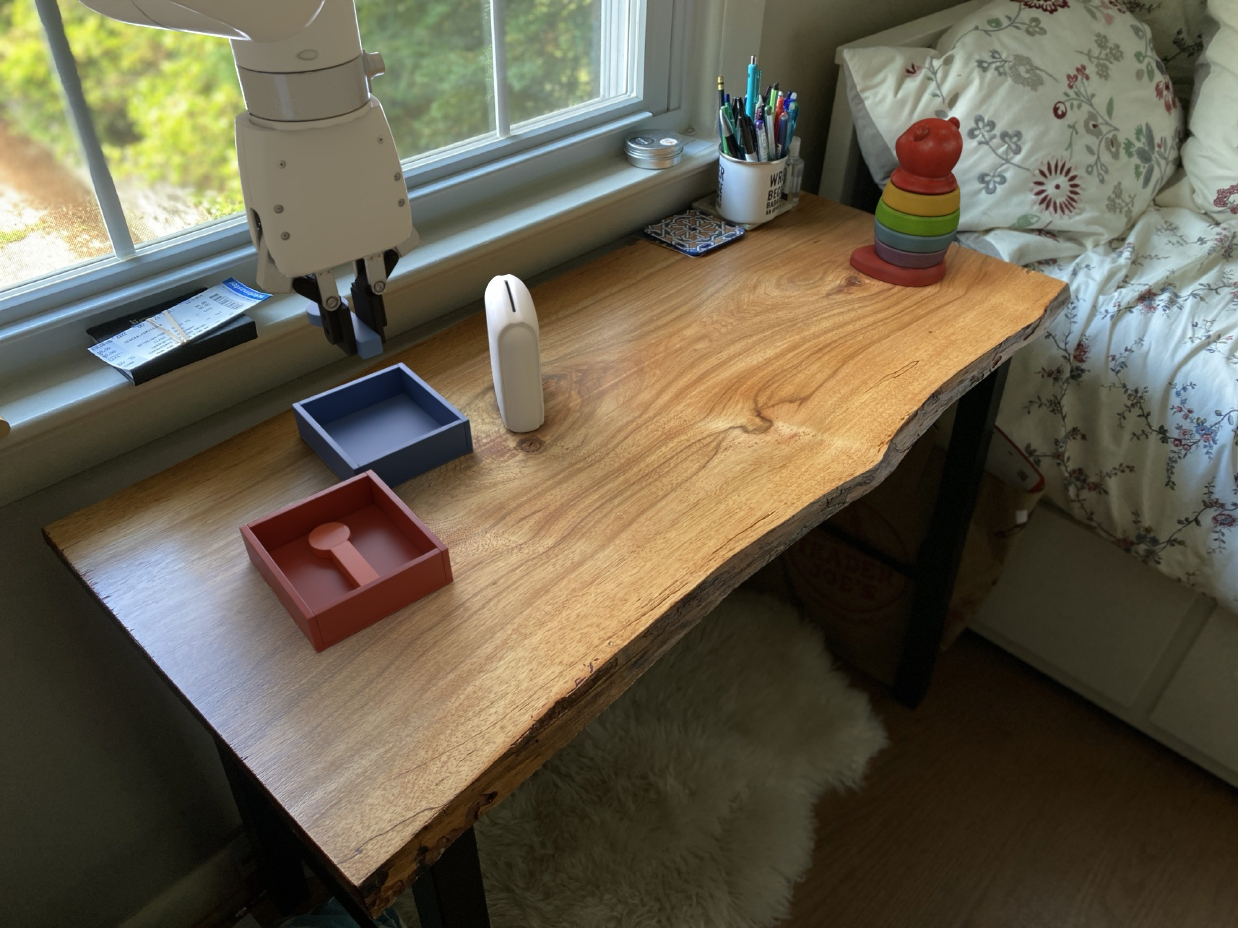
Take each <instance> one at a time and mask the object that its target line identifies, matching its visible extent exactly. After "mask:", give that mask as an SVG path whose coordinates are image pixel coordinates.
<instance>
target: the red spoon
mask: <svg viewBox="0 0 1238 928" xmlns="http://www.w3.org/2000/svg"><path fill="white" fill-rule="evenodd" d="M308 541H309V545H310V548H311V551H312V553H313V554H314V555H315V556H317V557H319V558H323V559H330V558H332V560H333V562H334V563H335V565H336V566H337V567H338V568H339V570H340V571H341V572H342V573H343V574H344V576H345V577H346V578H347V579H348V580H349V582H350V583H351V584H352V585H353V586H354V588H355V589H357V588H359V587H361V586H363V585H365V584H367V583H369V582H371V581H373V580H375V579H377V578H379V577H380V576H379V575H378V574H377V573H376V572H375V571H374V569H373V568H372V567H371V566H370V565H369V564H368V563H367V561H366V560H365V559H364V558H363V557H362V556H361V554H360V553H359V552H358V551H357V550H356V549H355V548H354V546H353V545H352V537H351V533H350V530H349V528H348V527H347V526H346V525H344V524H342V523H337V522H331V523H326V524H323V525H320V526H318V527H317V528H315V529H314V530H313V531H312V532H311V533H310V535H309V538H308Z"/></svg>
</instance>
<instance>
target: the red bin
mask: <svg viewBox="0 0 1238 928" xmlns="http://www.w3.org/2000/svg"><path fill="white" fill-rule="evenodd" d="M331 522H337V523H342V524H344V525H346V526H347V527H348V528H349V530H350V533H351V537H352V545H353V546H354V548H355V549H356V550H357V551H358V552H359V553H360V554H361V556H362V557H363V558H364V559H365V560H366V561H367V563H368V564H369V565H370V566H371V567H372V568H373V569H374V571H375V572H376V573H377V574H378V575H379V576H380V577H379V578H377V579H375V580H373V581H371V582H369V583H367V584H365V585H363V586H361V587H359V588H357V589H355V588H354V586H353V585H352V584H351V583H350V582H349V580H348V579H347V578H346V577H345V576H344V574H343V573H342V572H341V571H340V570H339V568H338V567H337V566H336V565H335V563H334V562H333V560H332V558H330V559H323V558H319V557H317V556H315V555H314V554H313V553H312V551H311V548H310V545H309V541H308V538H309V535H310V533H311V532H312V531H313V530H314V529H315V528H317V527H318V526H320V525H323V524H326V523H331ZM238 529H239V533H240V536H241V538H242V540H243V544H244V546H245V550H246V553H247V555H248V558H249V561H250V562H251V564H252V565H253V566H254V568H255V569H256V570H257V572H258V573H259V575H260V576H261V577H262V579H263V580H264V582H265V583H266V584H267V585H268V587H269V588H270V590H271V591H272V593H273V595H275V597H276V599H278V601H279V602H280V604H281V605H282V606H283V608H284V609H285V611H286V612H287V614H288V615H289V616H290V618H291V619H292V620H293V622H294V623H295V624H296V626H297V627H298V629H299V630H300V631H301V632H302V634H303V635H304V637H305V638H306V640H307V641H308V642H309V644H310V645H311V646H312V648H313V649H314V651H315V652H316V653H317V654H319V653H321V652H323V651H325V650H327V649H329V648H330V647H332V646H334V645H336V644H338V643H339V642H342V641H343V640H345V639H347V638H349V637H351V636H354V634H355V635H356V634H357V633H359V632H360V631H362V630H364V629H366V628H368V627H370V626H372V625H373V624H376V623H377V622H379V621H381V620H383V619H385V618H387V617H389V616H390V615H392V614H395V613H396V612H398V611H400V610H402V609H404V608H405V607H407V606H410V605H411V604H413V603H415V602H417V601H418V600H421V599H422V598H425V597H426V596H428V595H430V594H432V593H434V592H436V591H438V590H440V589H442V588H444V587H445V586H447V585H448V584H451V583H453V582H454V575H453V570H452V569H453V568H452V563H451V557H450V556H451V555H450V551H449V547H448V546H447V545H445V544H444V542H443V541H442V540H441V539H440V538H439V537H438V536H437V535H436V534H435V533H434V532H433V531H432V530H431V529H430V528H429V527H428V526H427V525H426V524H425V523H424V521H422V520H421V519H420V518H419V517H418V515H416V513H414V512H413V511H412V509H411V508H410V507H409V506H408V505H407V504H406V503H405V502H404V501H403V500H402V499H401V498H400V497H399V496H398V495H397V494H396V493H395V492H394V491H393V490H392V488H389V487H388V486H387V485H386V484H385V483H384V482H383V481H382V480H381V479H380V478H379V477H378V476H377V475H376V474H375V473H374V472H373V471H372V470H368V471H366V472H364V473H362V474H359V475H357V476H355V477H353V478H350V479H348V480H346V481H343V482H342V481H341V482H339V483H337V484H335V485H332V486H330V487H328V488H326V489H323V490H321V491H319V492H317V493H314V494H311V495H309V496H307V497H304V498H303V499H300V500H298V501H296V502H294V503H291V504H288V505H286V506H284V507H282V508H280V509H278V510H275V511H272V512H271V513H269V514H266V515H264V516H262V517H260V518H257V519H255V520H253V521H251V522H248V523H246V524H243V525H241V526H239V527H238Z"/></svg>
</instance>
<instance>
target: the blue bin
mask: <svg viewBox="0 0 1238 928" xmlns="http://www.w3.org/2000/svg"><path fill="white" fill-rule="evenodd" d="M291 408H292V412H293V415H294V419H295V423H296V426H297V430H298V434H299V436H300V437H301V438H302V440H303V441H304V442H305V443H306V444H307V445H308V446H309V448H311V449H312V450H313V452H315V454H316V455H317V456H318V457H319V458H320V459H321V460H322V461H323V463H324V464H325V465H326V466H327V467H328V468H329V469H330V470H331V471H332V472H333V474H335V475H336V476H337V477H338V479H339V480H340V481H341V482H343V481H346V480H348V479H350V478H353V477H355V476H357V475H359V474H362V473H364V472H366V471H368V470H372V471H373V472H374V473H375V474H376V475H377V476H378V477H379V478H380V479H381V480H382V481H383V482H384V483H385V484H386V485H387V486H388V487H389V488H390V489H392V488H394V487H397V486H399V485H401V484H403V483H405V482H408V481H409V480H412V479H414V478H417V477H419V476H421V475H423V474H425V473H427V472H429V471H432V470H434V469H436V468H438V467H440V466H443V465H445V464H447V463H449V462H451V461H453V460H456V459H458V458H461V457H462V456H465V455H467V454H469V453H471V452H474V447H473V445H474V444H473V437H472V430H471V421H470V418H468V417H467V416H466V415H465V414H463V413H462V412H461V411H460V410H459V409H458V408H456V407H455V406H454V405H453V404H452V403H450V401H448V400H447V399H446V398H445V397H443V395H441V394H440V393H439V392H437V391H436V390H435V389H434V388H433V387H432V386H430V384H428V383H427V382H426V381H425V380H423V379H422V378H421V377H420V376H419V375H417V374H416V373H415V372H414V371H413V370H412V369H410V368H409V367H408V366H406V364H404V363H403V362H399V363H397V364H394V365H391V366H388V367H386V368H384V369H383V368H382V369H381V370H378V371H375V372H373V373H371V374H367V375H365V376H363V377H360V378H357V379H355V380H352V381H349V382H347V383H345V384H342V385H339V386H337V387H334V388H332V389H329V390H326V391H323V392H321V393H318V394H316V395H315V394H314V395H313V396H310V397H308V398H305V399H302V400H300V401H298V402H295V403H292V404H291Z"/></svg>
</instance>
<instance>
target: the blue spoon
mask: <svg viewBox="0 0 1238 928" xmlns="http://www.w3.org/2000/svg"><path fill="white" fill-rule="evenodd" d="M341 299H342V302H343V303H345V304H346V305H347V306H348V307H349V308H350V304H349V301H348V300H347V299H346V298H344V297H342V296H341ZM305 312H306V316H307V317H306V318H307V322H308V323H309V324H311V325H312V326H314V327H318V328H323V325H322V321H321V316H320V312H319V308H318V304H317V303H315V302H313V301H311V300H310V301H309V302H308V303H307V304H306V306H305ZM350 312H351V317H352V322H353V326H354V331H355V336H356V338H355V342H356V347H357V354H356V355H358V356H359V357H360V358H361V359H363V360H367V359H370V358H372V357H375V356H378V355H381V354H383V353H384V348H383V345H382V343H381V337H380V336H379V335H378V334H377V333H376V332H374V331H373V330H372V329H370V328H369V327H368V326H367V325H366V324H365V323H363V322H362V321H361V320H360V319H359V318H357V317H356V315H355V313H353V312H352V311H351V310H350Z"/></svg>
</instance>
